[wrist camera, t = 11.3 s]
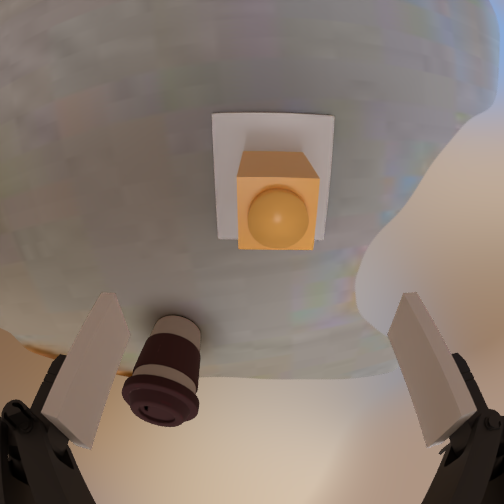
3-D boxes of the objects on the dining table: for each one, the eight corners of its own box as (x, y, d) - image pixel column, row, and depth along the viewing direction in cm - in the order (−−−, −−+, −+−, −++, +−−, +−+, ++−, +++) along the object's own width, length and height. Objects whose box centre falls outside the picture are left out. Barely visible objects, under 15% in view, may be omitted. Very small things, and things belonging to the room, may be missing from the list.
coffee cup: (223, 337, 44) (213, 425, 31) (179, 358, 47) (162, 436, 34) (177, 296, 40) (148, 387, 27) (135, 323, 43) (104, 402, 30)
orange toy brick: (243, 205, 32) (237, 257, 23) (243, 151, 29) (235, 182, 20) (299, 206, 32) (315, 257, 23) (303, 152, 28) (323, 183, 20)
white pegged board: (219, 234, 35) (210, 269, 29) (213, 112, 27) (200, 120, 21) (321, 235, 34) (334, 270, 28) (332, 115, 27) (352, 123, 21)
